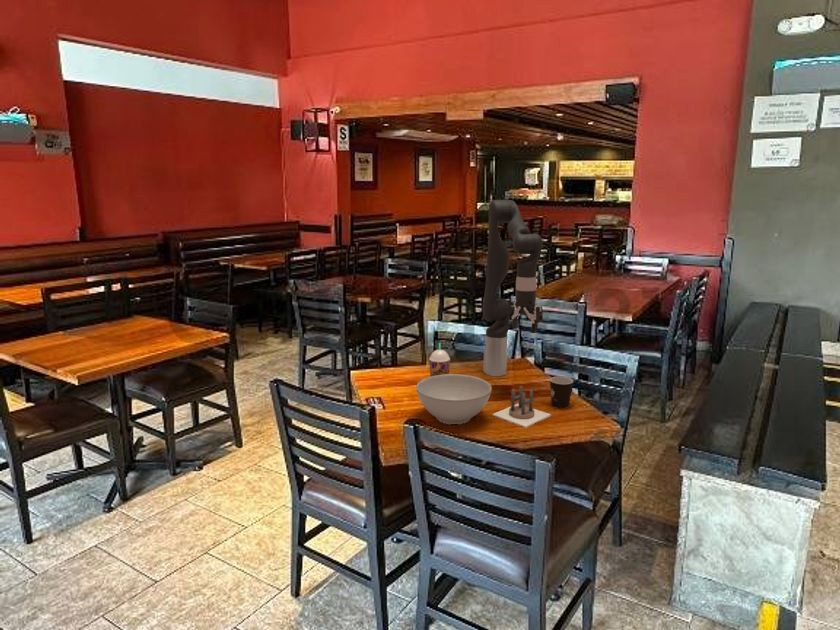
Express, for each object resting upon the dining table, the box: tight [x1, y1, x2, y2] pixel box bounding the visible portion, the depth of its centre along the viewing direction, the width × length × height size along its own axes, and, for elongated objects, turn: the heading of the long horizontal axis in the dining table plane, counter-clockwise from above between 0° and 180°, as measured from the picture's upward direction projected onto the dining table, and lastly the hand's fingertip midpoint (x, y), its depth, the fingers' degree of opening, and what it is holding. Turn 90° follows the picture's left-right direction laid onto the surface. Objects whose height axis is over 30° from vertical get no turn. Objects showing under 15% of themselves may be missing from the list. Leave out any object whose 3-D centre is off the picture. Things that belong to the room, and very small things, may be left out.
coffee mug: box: [549, 376, 574, 409], centre depth 227 cm, size 12×9×10 cm
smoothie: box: [429, 342, 451, 377], centre depth 240 cm, size 8×8×20 cm
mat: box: [491, 403, 552, 429], centre depth 216 cm, size 15×15×1 cm
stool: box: [509, 385, 534, 419], centre depth 215 cm, size 9×9×10 cm
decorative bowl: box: [415, 373, 493, 425], centre depth 214 cm, size 27×27×12 cm
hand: (524, 330), depth 224 cm, fingers open, 8 cm apart
